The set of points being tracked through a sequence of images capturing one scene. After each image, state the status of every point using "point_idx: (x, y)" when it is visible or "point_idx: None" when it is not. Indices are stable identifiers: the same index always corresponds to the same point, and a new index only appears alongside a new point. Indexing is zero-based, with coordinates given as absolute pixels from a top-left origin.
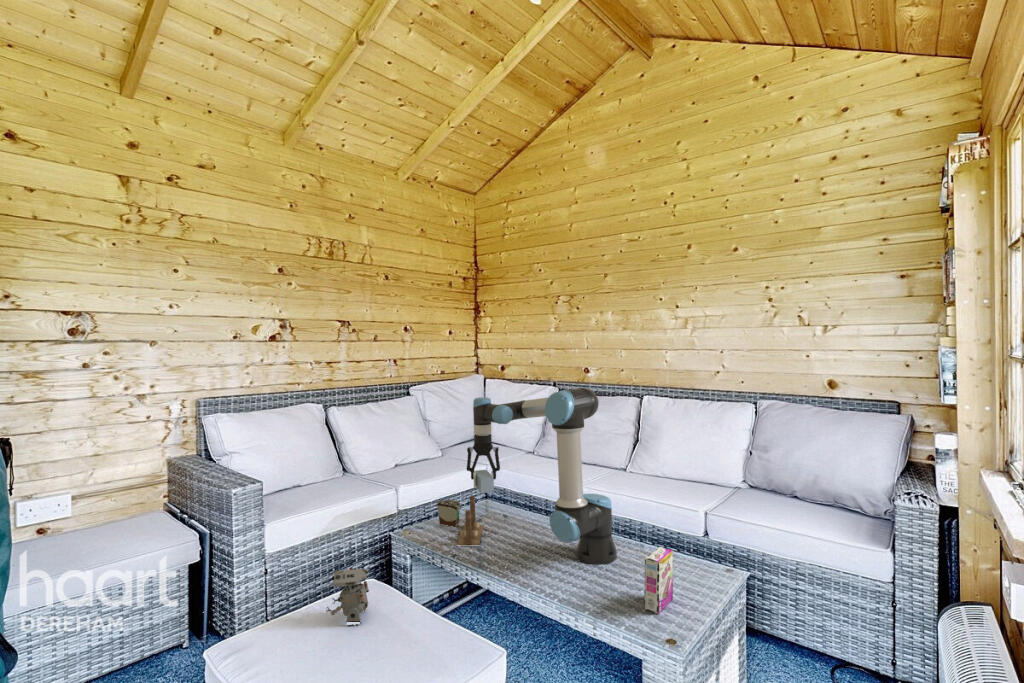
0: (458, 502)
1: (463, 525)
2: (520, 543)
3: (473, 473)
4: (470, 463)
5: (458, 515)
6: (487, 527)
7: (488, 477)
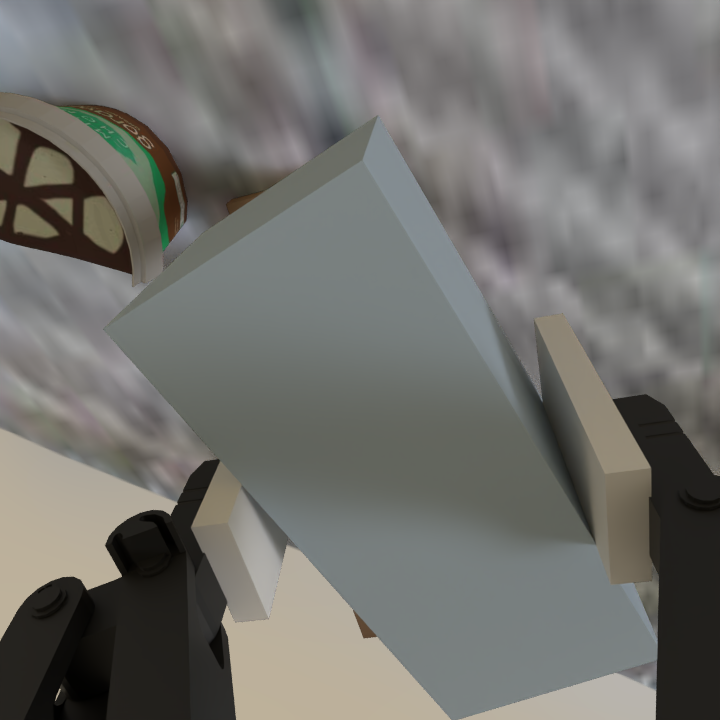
0: (74, 155)
1: (233, 211)
2: (705, 371)
3: (240, 608)
4: (33, 718)
5: (162, 221)
6: (414, 147)
7: (567, 658)
